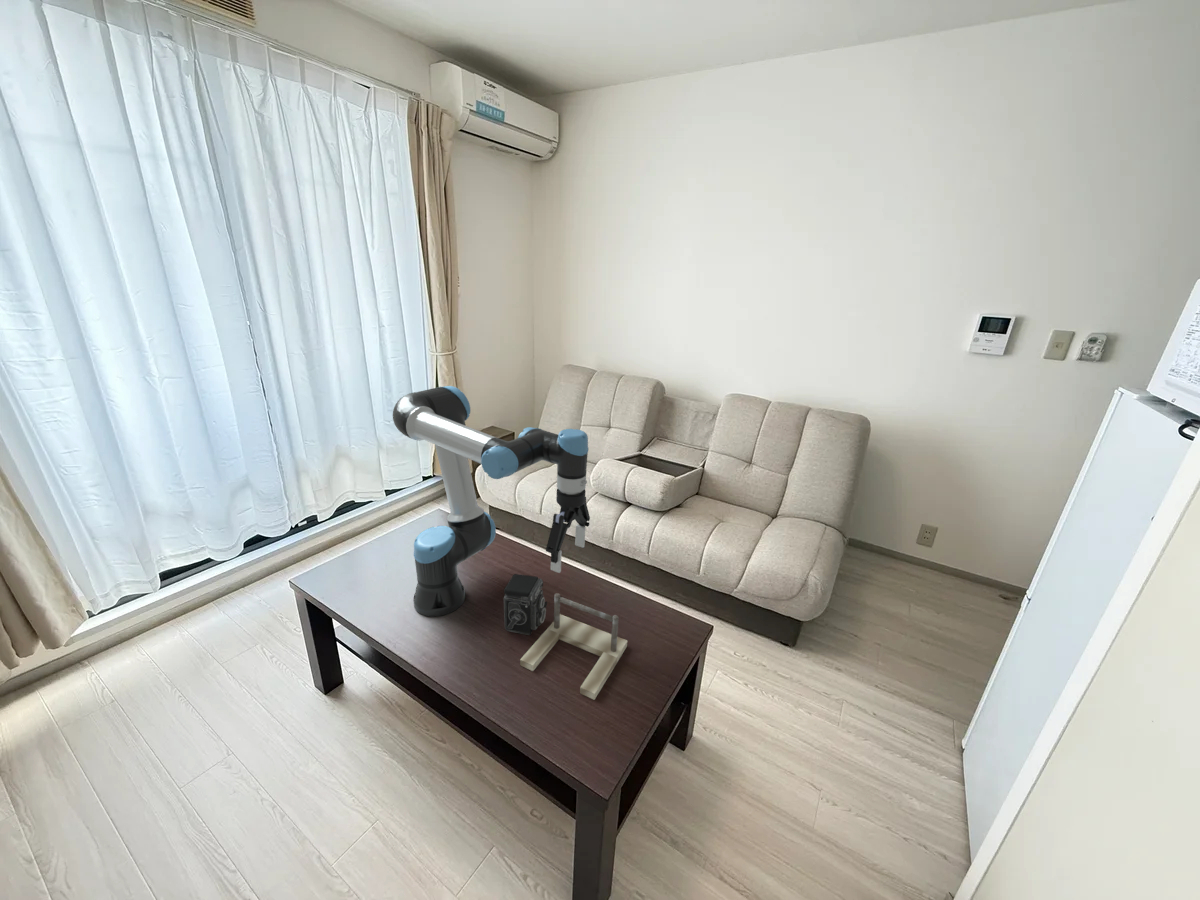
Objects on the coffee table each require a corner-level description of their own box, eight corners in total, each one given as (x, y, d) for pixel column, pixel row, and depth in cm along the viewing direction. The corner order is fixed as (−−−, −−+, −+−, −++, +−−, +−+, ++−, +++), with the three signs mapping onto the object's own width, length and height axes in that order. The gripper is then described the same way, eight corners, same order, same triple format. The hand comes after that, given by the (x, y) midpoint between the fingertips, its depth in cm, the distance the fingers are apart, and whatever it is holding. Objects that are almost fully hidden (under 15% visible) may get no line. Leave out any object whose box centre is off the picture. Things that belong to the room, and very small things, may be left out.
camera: (538, 641, 129) (538, 597, 124) (503, 635, 131) (501, 591, 126) (549, 617, 139) (549, 575, 133) (516, 611, 140) (515, 569, 135)
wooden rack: (520, 665, 121) (519, 625, 116) (559, 619, 138) (560, 583, 133) (594, 700, 112) (596, 658, 107) (627, 646, 129) (630, 608, 124)
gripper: (559, 512, 107) (557, 587, 115) (604, 475, 128) (599, 540, 136) (532, 504, 110) (531, 577, 118) (580, 469, 131) (577, 533, 139)
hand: (568, 557), depth 127 cm, fingers open, 13 cm apart
